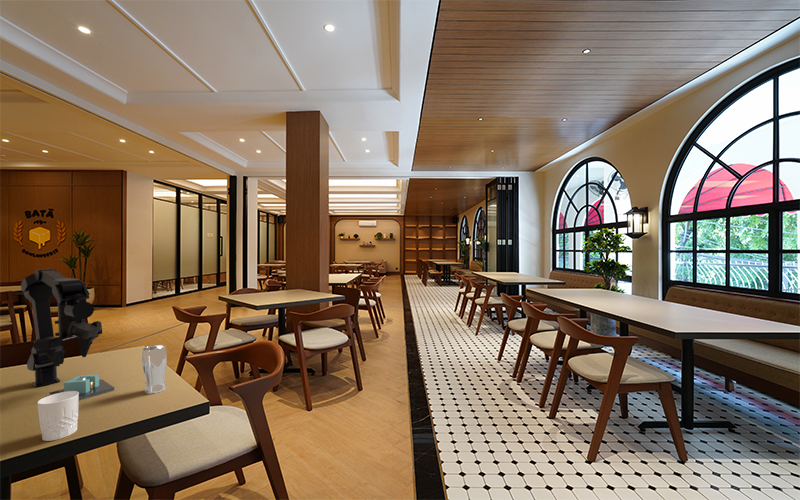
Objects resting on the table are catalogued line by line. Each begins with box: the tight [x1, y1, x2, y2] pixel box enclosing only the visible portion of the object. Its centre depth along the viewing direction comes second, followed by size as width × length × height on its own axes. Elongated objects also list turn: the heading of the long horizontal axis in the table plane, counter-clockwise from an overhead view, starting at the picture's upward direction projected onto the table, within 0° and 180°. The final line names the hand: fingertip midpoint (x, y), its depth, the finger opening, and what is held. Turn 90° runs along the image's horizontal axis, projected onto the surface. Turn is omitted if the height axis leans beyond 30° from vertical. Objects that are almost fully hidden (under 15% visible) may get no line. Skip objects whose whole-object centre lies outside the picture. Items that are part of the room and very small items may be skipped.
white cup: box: [36, 391, 80, 442], centre depth 93 cm, size 8×8×10 cm
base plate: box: [48, 377, 115, 401], centre depth 120 cm, size 14×14×5 cm
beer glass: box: [141, 344, 168, 395], centre depth 120 cm, size 7×7×15 cm
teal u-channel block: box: [63, 373, 100, 394], centre depth 120 cm, size 6×6×4 cm
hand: (71, 361), depth 120 cm, fingers open, 9 cm apart
